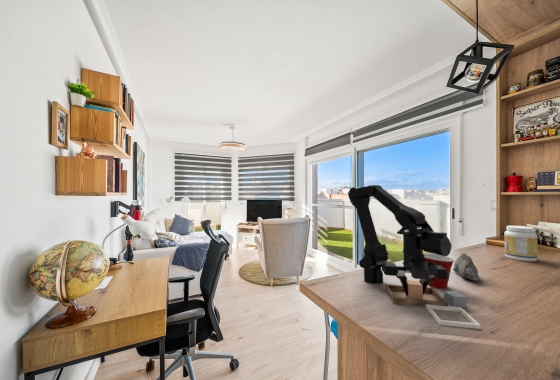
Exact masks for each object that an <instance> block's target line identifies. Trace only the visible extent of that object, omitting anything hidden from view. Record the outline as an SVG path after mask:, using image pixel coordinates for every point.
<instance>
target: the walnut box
mask: <svg viewBox="0 0 560 380" xmlns="http://www.w3.org/2000/svg"><path fill="white" fill-rule="evenodd" d="M384 286H385V287H384V288H385V291H386V293H387V295H388V297H389V299H390V300H391V302H392V304H393V305H405V306H406V305H407V306H414V307H415V306H418V307H425V308H426V304H428V305H439V306H450V305H449V303H448V302H447V301H446V300H445V299H444V296H442V295H441V294H440V293H439V292H438V291H437V290H436V288H433V287H431V286H427V288H426V290H425V292H424V295H423V300H421V299H410V298H408V297H407V296H406V294H405V292H404V289H403V286H402V284H392V283H391V284H390V283H384Z"/></svg>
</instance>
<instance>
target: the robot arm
mask: <svg viewBox="0 0 560 380" xmlns="http://www.w3.org/2000/svg"><path fill="white" fill-rule="evenodd" d="M347 196H348V199H349V201H350V203H351V205H352V206H353V207H354V208H355V209H356V213H357V215H358V216H357V217H358V221H359V223H360V228H361V232H362V235H363V238H364V243H365V245H364V247H363V257H362V258H361V259H360V260H359V261H358V263H359V267H360V268H363V282H365V283H370V284H382V283H384V275H386V276H393V277H396V278H397V279H398V280H400V281H399V282H400V285H402V286H403V289H404V292H405V294H406V296H408V288H407V280H408V277H407V276H406V273H407V274H410V275H411V278H413V279H415V280H417V279H418V281H419V282H420V283H421V284H422V285H423V295H424V292H425V290H426V288H427V287H429V285H428V284H429V283H430V282H431V281H435V280H436V279H435V278H434V275H435V276H436V277H437V278H438V279H449V280H450V277H449V272H448V271H447V270H446V269H445V268H443V267H442V266H440V265H436V263H432V262H426V261H425V257H424V254H423V253H424V252H425V253H428V254H437V255H441V256H447V257H449V255H450V253H451V251H452V243H451V240H450V238H449V237H448V233H447V232H438V231H437V232H436V231H434V229H433V228H432V227H431V225H430V224H429V223H428V221H427V219H426V216H425V214H424V213H423V212H421V211H419V210H417V209H416V208H414V207H411V206H407V205H405V204H403V203H402V202H401V201H400V200H398V199H397V198H395V197H394V196H393V195H392V194H390V193H389V192H388V191H387V190H385V189H384V188H383V187H382V186H381V185H379V184H370V185H367V186H362V187H360V186H358V187H357V186H353V187H351V188H349V190H348V192H347ZM371 197H373V198H374V199H375V200H376V201H378V202H379V203H380V204H381V205H382V206H384V207H385V208H386V209H387V210H388V211H390V213H392V214H393V215H394V219H395V221H396V222H397V223H398V225H400V226H401V228H400V229H399V230H398V231H396V234H397V235H402V245H403V246H402V248H403V249H402V254H403V255H402V256H403V257H402V258H403V261H402V265H403V266H400V265H396V264H395V262H387V261H388V260H389V255H390V254H389V252H388V249H387V245H386V244H385V243H383V244H382V243H381V241H379V239H378V235H377V231H376V228H375V224H374V221H373V218H372V214H371V211H370V207H369V206H370V201H371Z"/></svg>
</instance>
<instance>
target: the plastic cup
mask: <svg viewBox="0 0 560 380" xmlns="http://www.w3.org/2000/svg"><path fill="white" fill-rule="evenodd" d="M423 254H424V257H425V261H426V262H432V263H436V265H440V266H442V267H443V268H445V269H446V270H447V271H448V272H449V279H438V278H437V277H436V276H435V275H434V278H435V279H436V280H435V281H431V282H430V283H429V284H428V287H430V288H434V289H439V290H445V289H448V285H449V281H450V277H451V271H452V266H453V265H454V263H455V261H456V259H455V258H453V257H450V256H441V255H437V254H432V253H428V252H425V253H424V252H423Z"/></svg>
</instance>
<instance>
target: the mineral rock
mask: <svg viewBox="0 0 560 380" xmlns="http://www.w3.org/2000/svg"><path fill="white" fill-rule="evenodd" d="M452 270H453V272H454V273H456V274H457V275H459V276H460V277H462V278H464V279H469V280H471V281H476V282H477V281H479V280H480V275H479V271H478V268H477V266H476V265H475V264H474V262H473V259H472V257H471V256H469V255H467V253H466V252H462V253H461V254H460V255H458V256H457V258H456V259H455V261H454V262H453V268H452Z"/></svg>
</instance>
